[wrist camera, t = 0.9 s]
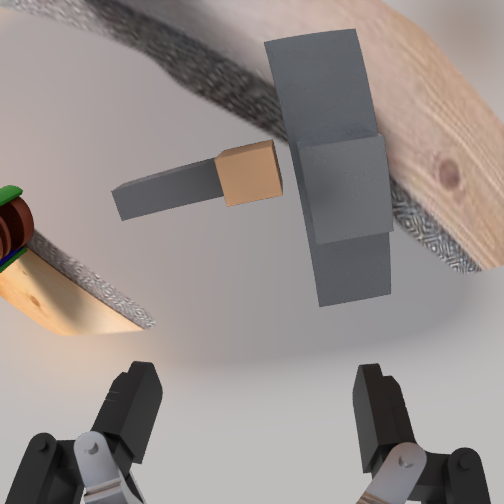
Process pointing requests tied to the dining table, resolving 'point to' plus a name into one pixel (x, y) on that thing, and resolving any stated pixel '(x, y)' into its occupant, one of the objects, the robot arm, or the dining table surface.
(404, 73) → the dining table surface
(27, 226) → the motor
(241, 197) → the plug
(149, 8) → the dining table surface
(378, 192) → the housing
